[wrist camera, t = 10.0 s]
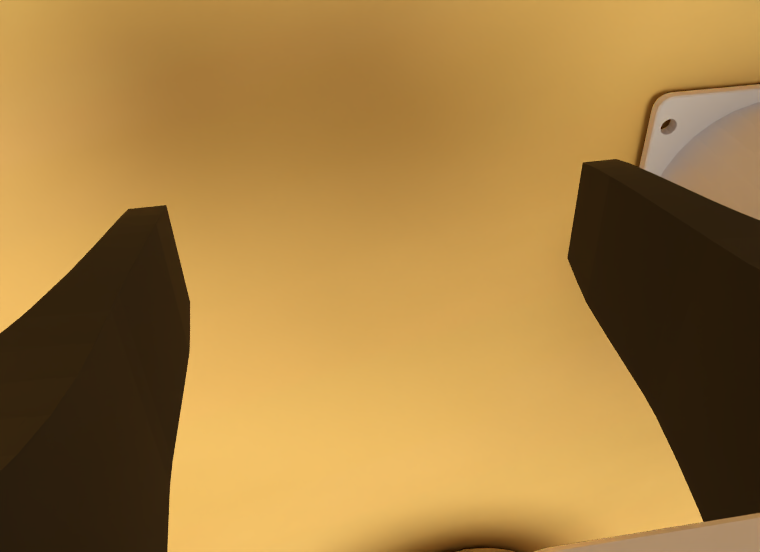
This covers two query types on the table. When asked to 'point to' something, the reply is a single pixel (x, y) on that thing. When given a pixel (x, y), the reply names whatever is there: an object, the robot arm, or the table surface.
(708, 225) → the robot arm
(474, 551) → the planter bowl
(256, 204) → the table surface
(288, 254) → the table surface
